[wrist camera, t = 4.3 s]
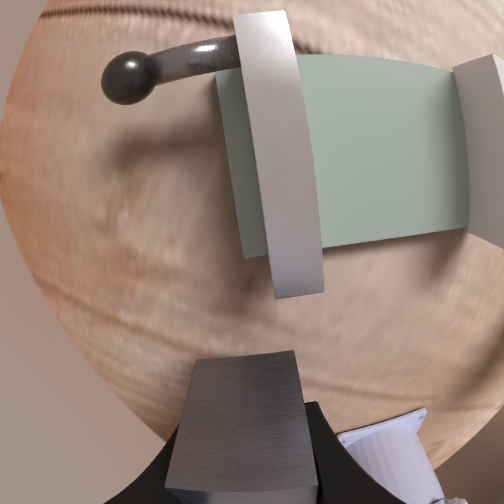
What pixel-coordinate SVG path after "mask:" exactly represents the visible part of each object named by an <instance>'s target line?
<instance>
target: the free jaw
mask: <svg viewBox="0 0 504 504" xmlns="http://www.w3.org/2000/svg"><path fill="white" fill-rule="evenodd" d="M233 22H234V29H235V35H231V36H225V37H219V38H213V39H208V40H203V41H199V42H194V43H190V44H185V45H181V46H178V47H174V48H170V49H167V50H163V51H160V52H156V53H153V54H150V55H147V54H145V53H142V52H138V51H130V52H125V53H122V54H120V55H118V56H116V57H115V58H114V59H112V60H111V61H110V62H109V63H108V65H107V66H106V68H105V69H104V71H103V74H102V79H101V86H102V90H103V92H104V94H105V96H106V97H107V98H108V99H109V100H110V101H112V102H114V103H116V104H119V105H132V104H135V103H138V102H140V101H142V100H144V99H145V98H146V97H147V96H148V95H149V94H150V93H151V92H152V91H153V89H154V88H155V86H157V85H161V84H164V83H168V82H172V81H176V80H180V79H184V78H188V77H192V76H197V75H201V74H206V73H211V72H216V71H222V70H228V69H234V68H241V73H242V79H243V85H244V92H245V98H246V104H247V110H248V117H249V123H250V130H251V136H252V143H253V150H254V156H255V163H256V170H257V177H258V184H259V191H260V198H261V205H262V212H263V219H264V226H265V234H266V241H267V249H268V256H269V264H270V270H271V277H272V283H273V290H274V297H275V299H281V298H289V297H296V296H302V295H309V294H315V293H322V292H324V275H323V256H322V241H321V228H320V216H319V205H318V195H317V186H316V177H315V169H314V161H313V153H312V146H311V139H310V132H309V126H308V120H307V113H306V107H305V102H304V96H303V91H302V85H301V80H300V75H299V70H298V65H297V61H296V56H295V51H294V47H293V43H292V38H291V34H290V30H289V26H288V22H287V18H286V14H285V11H271V12H257V13H247V14H239V15H233Z"/></svg>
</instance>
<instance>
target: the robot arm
mask: <svg viewBox="0 0 504 504" xmlns="http://www.w3.org/2000/svg"><path fill="white" fill-rule="evenodd" d="M304 405H305V411H306V416H307V422H308V427H309V433H310V438H311V444H312V450H313V456H314V462H315V468H316V474H317V480H318V491H317V498H316V504H468V503H467V502H466V500H465V499H458V498H454V499H453V500H451V501H450V500H449V499H445V497H444V494H443V492H442V489H441V487H440V485H439V482H438V480H437V478H436V475H435V473H434V471H433V468H432V466H431V464H430V462H429V459H428V457H427V455H426V453H425V451H424V448H423V446H422V444H421V442H420V440H419V438H418V436H417V434H416V433H417V431H418V429H419V428H420V426H421V424H422V422H423V420H424V418H425V416H426V413H427V410H426V408H421V409H419V410H416V411H414V412H411V413H408V414H405V415H403V416H400V417H397V418H394V419H391V420H388V421H385V422H381V423H378V424H375V425H371V426H368V427H364V428H360V429H356V430H352V431H348V432H344V433H340V434H338V435H337V436H336V435H335V433H334V432H333V430H332V429H331V427H330V426H329V424H328V422H327V420H326V419H325V417H324V415H323V413H322V411H321V409H320V407H319V404H318V402H316V401H314V402H307V403H304ZM179 424H180V423H179ZM178 428H179V425H178V426H177V428H176V430H175V431H174V433H173V434H172V436H171V437H170V439H169V440H168V441H167V443H166V444H165V446H164V447H163V449H162V450H161V451H160V453H159V454H158V455H157V456H156V458H155V459H154V460H153V461H152V463H151V464H150V465H149V466H148V467H147V468H146V469H145V470H144V472H143V473H142V474H141V475H140V476H139V477H138V478H137V479H135V480H134V481H133V482H132V483H131V484H130V485H129V486H128V487H126V488H125V489H124V490H123V491H121V492H120V493H119V494H117V495H116V496H114V497H113V498H111V499H110V500H108V501H107V502H105V503H104V504H183V503H182V502H181V501H179V500H178V499H177V498H176V497H175V496H174V495H173V494H171V493H170V492H169V491H168V490H167V489H166V488H165V482H166V478H167V474H168V469H169V465H170V461H171V457H172V453H173V449H174V445H175V440H176V436H177V432H178Z"/></svg>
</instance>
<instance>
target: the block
mask: <svg viewBox="0 0 504 504" xmlns="http://www.w3.org/2000/svg"><path fill="white" fill-rule="evenodd" d="M165 488H166V489H167V490H168V491H169V492H170V493H171V494H173V495H174V496H175V497H176V498H177V499H178V500H179V501H181V502H182V503H183V504H316V498H317V491H318V480H317V474H316V468H315V462H314V456H313V450H312V444H311V438H310V433H309V427H308V422H307V416H306V411H305V405H304V400H303V394H302V389H301V384H300V379H299V373H298V368H297V363H296V358H295V353H294V350H290V351H283V352H276V353H268V354H259V355H250V356H239V357H228V358H214V359H197V360H196V364H195V367H194V371H193V375H192V378H191V382H190V386H189V390H188V393H187V397H186V401H185V405H184V409H183V413H182V417H181V421H180V424H179V428H178V432H177V436H176V440H175V445H174V449H173V453H172V457H171V461H170V465H169V469H168V474H167V478H166V482H165Z"/></svg>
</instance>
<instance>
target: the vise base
mask: <svg viewBox="0 0 504 504" xmlns="http://www.w3.org/2000/svg"><path fill="white" fill-rule="evenodd" d="M295 56H296V61H297V65H298V70H299V75H300V80H301V85H302V91H303V96H304V102H305V107H306V113H307V120H308V126H309V132H310V139H311V146H312V153H313V161H314V169H315V177H316V186H317V195H318V205H319V216H320V228H321V241H322V248H326V247H333V246H340V245H347V244H354V243H361V242H368V241H375V240H382V239H389V238H396V237H403V236H410V235H417V234H424V233H431V232H438V231H445V230H452V229H458V228H465V227H469V229H468V233H470V234H473V235H475V236H477V237H479V238H482V239H484V240H486V241H488V242H490V243H492V244H494V245H497V246H499V247H501V248H503V249H504V60H503V59H501V58H499V57H497V56H495V55H493V54H491V55H487V56H484V57H481V58H478V59H475V60H472V61H469V62H466V63H463V64H460V65H457V66H455V67H452V69H453V72H454V73H453V72H449V71H446V70H442V69H438V68H433V67H429V66H424V65H420V64H415V63H409V62H403V61H397V60H390V59H383V58H374V57H364V56H350V55H295ZM215 76H216V83H217V90H218V97H219V104H220V111H221V117H222V124H223V131H224V137H225V144H226V150H227V157H228V163H229V170H230V176H231V183H232V189H233V196H234V202H235V208H236V215H237V221H238V227H239V233H240V239H241V246H242V252H243V258H244V259H245V258H252V257H260V256H267V255H268V249H267V241H266V234H265V226H264V219H263V212H262V205H261V198H260V191H259V184H258V177H257V170H256V163H255V156H254V150H253V143H252V136H251V130H250V123H249V117H248V110H247V104H246V98H245V92H244V85H243V79H242V73H241V68H234V69H228V70H222V71H216V72H215Z"/></svg>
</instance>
